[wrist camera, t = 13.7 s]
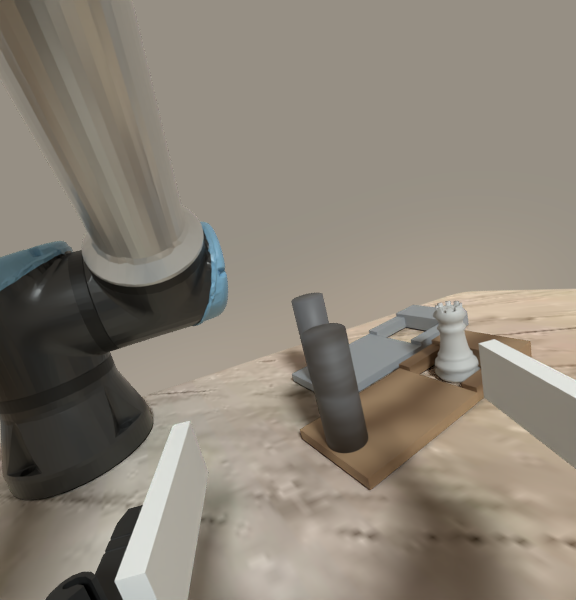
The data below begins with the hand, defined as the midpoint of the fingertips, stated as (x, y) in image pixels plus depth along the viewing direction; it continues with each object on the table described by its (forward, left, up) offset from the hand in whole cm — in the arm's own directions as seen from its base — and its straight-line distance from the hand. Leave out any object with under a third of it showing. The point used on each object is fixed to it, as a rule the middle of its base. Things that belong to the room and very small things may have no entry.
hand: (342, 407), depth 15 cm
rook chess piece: (-10, +23, -12) cm, 28 cm away
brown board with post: (-11, +17, -12) cm, 23 cm away
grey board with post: (-21, +23, -12) cm, 33 cm away
